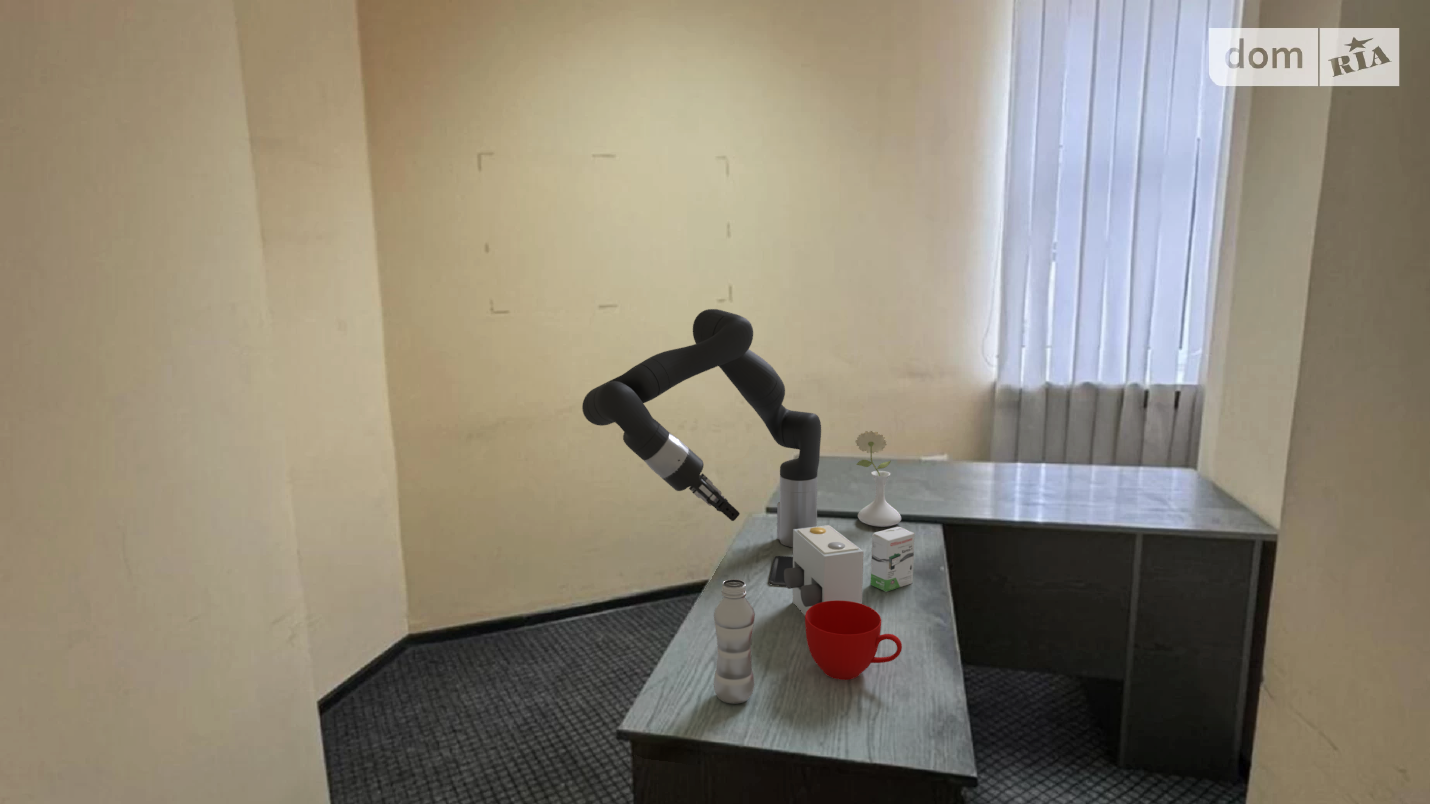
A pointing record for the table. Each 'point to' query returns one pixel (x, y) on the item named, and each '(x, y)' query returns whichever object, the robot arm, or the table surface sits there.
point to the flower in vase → (879, 508)
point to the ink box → (892, 558)
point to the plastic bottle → (734, 644)
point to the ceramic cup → (845, 638)
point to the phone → (780, 569)
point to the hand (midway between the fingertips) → (735, 516)
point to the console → (828, 564)
